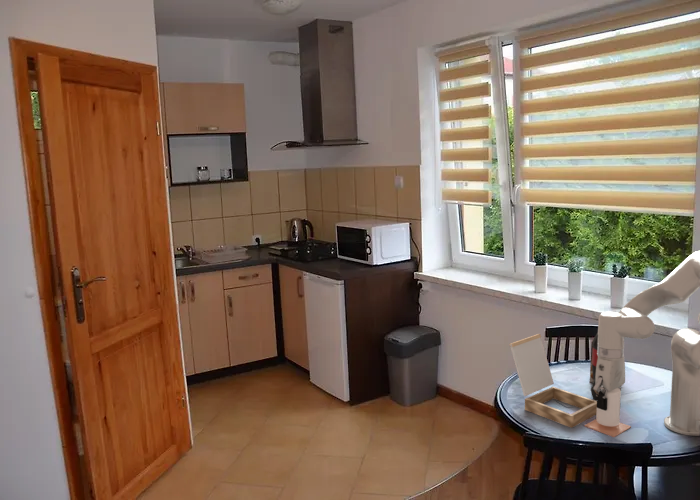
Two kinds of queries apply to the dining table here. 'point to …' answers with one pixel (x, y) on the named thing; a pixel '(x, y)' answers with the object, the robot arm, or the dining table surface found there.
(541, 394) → the frame
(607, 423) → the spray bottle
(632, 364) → the dining table surface
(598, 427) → the thin terracotta tile
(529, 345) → the frame lid
